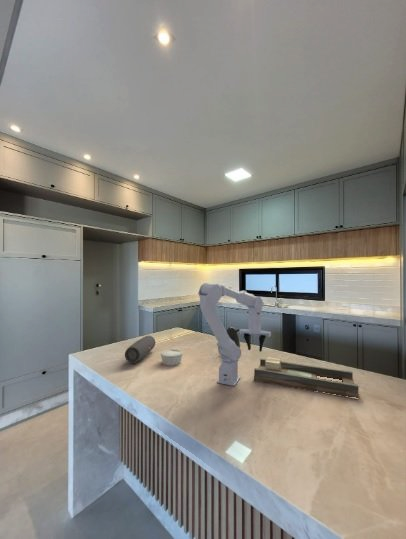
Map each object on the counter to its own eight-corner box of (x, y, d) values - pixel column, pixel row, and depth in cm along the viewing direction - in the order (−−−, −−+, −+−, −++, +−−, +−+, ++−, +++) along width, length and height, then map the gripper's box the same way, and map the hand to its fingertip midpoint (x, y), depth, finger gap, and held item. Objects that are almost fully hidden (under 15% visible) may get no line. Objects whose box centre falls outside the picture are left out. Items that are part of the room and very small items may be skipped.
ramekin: (184, 359, 131) (184, 349, 132) (180, 367, 120) (180, 356, 120) (164, 358, 133) (164, 348, 133) (158, 366, 121) (158, 355, 122)
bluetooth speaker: (140, 366, 121) (141, 346, 122) (123, 365, 123) (123, 345, 123) (156, 351, 144) (156, 334, 144) (141, 350, 145) (141, 334, 145)
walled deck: (358, 399, 89) (358, 387, 89) (253, 380, 105) (253, 370, 105) (351, 381, 105) (351, 370, 105) (261, 366, 121) (261, 357, 121)
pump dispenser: (235, 356, 135) (235, 329, 135) (219, 353, 141) (219, 327, 141) (243, 352, 143) (243, 326, 143) (228, 348, 149) (228, 324, 150)
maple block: (279, 374, 106) (279, 363, 106) (265, 372, 109) (265, 361, 109) (280, 369, 112) (280, 359, 112) (267, 367, 114) (267, 357, 114)
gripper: (271, 321, 115) (272, 349, 115) (241, 318, 121) (242, 346, 121) (269, 324, 108) (269, 354, 108) (238, 321, 114) (238, 350, 114)
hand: (255, 350), depth 114 cm, fingers open, 5 cm apart
